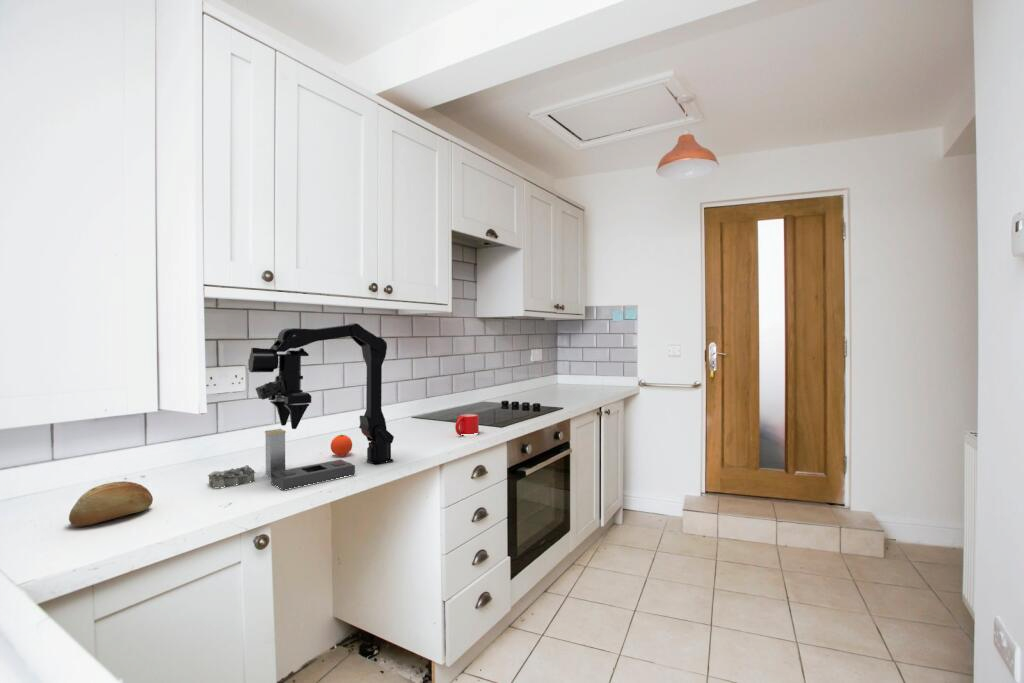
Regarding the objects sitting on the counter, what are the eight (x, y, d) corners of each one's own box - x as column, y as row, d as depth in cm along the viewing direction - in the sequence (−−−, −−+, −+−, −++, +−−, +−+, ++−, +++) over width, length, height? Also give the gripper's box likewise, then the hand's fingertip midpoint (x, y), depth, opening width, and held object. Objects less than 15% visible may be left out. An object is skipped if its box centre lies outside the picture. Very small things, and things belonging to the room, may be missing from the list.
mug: (448, 436, 198) (448, 417, 197) (466, 431, 208) (466, 412, 208) (464, 439, 193) (464, 418, 193) (482, 433, 204) (482, 414, 203)
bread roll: (161, 512, 114) (161, 478, 114) (78, 534, 102) (77, 495, 102) (144, 504, 120) (143, 471, 119) (62, 524, 107) (62, 487, 107)
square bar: (280, 472, 146) (280, 428, 146) (285, 475, 143) (285, 430, 143) (265, 475, 143) (264, 430, 143) (270, 478, 140) (270, 432, 140)
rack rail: (340, 469, 150) (340, 459, 150) (354, 475, 144) (354, 464, 144) (270, 483, 136) (270, 472, 136) (283, 490, 130) (283, 479, 130)
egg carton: (213, 491, 130) (212, 475, 130) (206, 484, 136) (206, 469, 136) (257, 482, 138) (257, 468, 138) (249, 476, 143) (249, 462, 143)
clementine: (328, 453, 170) (328, 433, 169) (350, 451, 173) (349, 431, 173) (332, 459, 162) (331, 437, 162) (354, 456, 166) (353, 435, 165)
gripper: (250, 371, 143) (248, 426, 143) (269, 373, 129) (267, 433, 129) (290, 371, 151) (289, 423, 150) (312, 372, 137) (311, 429, 136)
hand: (288, 427), depth 141 cm, fingers open, 9 cm apart
